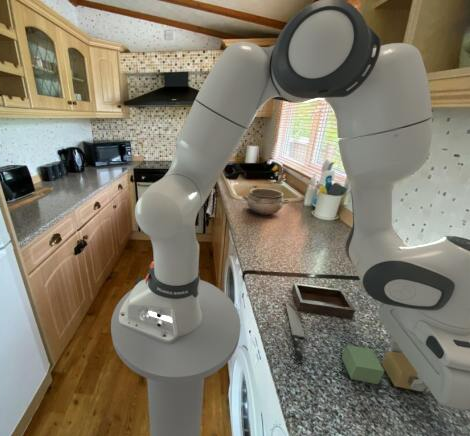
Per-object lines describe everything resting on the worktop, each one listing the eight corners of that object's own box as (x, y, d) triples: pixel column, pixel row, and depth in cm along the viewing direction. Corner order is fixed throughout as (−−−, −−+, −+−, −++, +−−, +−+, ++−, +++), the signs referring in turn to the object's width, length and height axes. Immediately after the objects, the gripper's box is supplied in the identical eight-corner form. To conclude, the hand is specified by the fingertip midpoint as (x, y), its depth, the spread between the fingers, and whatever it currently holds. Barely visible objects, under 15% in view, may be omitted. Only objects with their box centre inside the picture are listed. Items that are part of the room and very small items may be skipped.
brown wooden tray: (298, 310, 68) (300, 302, 67) (291, 290, 76) (293, 282, 74) (352, 318, 65) (355, 310, 64) (339, 297, 73) (342, 289, 72)
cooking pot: (283, 209, 142) (287, 189, 137) (289, 221, 125) (294, 199, 120) (240, 205, 147) (242, 185, 142) (240, 217, 130) (242, 195, 125)
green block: (350, 379, 50) (356, 366, 49) (341, 357, 55) (346, 344, 53) (378, 384, 49) (384, 371, 48) (366, 362, 54) (371, 349, 52)
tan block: (394, 386, 49) (401, 373, 47) (381, 363, 53) (387, 350, 52) (423, 392, 48) (431, 378, 46) (407, 368, 52) (414, 355, 51)
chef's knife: (295, 304, 70) (284, 302, 71) (296, 301, 70) (285, 299, 70) (311, 365, 53) (297, 361, 54) (313, 361, 52) (298, 357, 53)
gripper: (382, 283, 54) (363, 328, 60) (457, 369, 36) (419, 423, 41) (415, 287, 53) (392, 333, 59) (510, 378, 35) (464, 433, 40)
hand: (404, 371), depth 50 cm, fingers closed on tan block, 5 cm apart
